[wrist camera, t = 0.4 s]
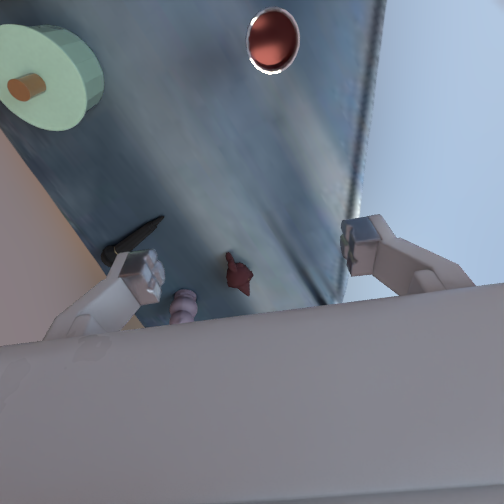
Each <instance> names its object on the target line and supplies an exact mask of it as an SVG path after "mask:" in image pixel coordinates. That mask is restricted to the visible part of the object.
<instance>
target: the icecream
mask: <svg viewBox="0 0 504 504" xmlns="http://www.w3.org/2000/svg"><path fill="white" fill-rule="evenodd" d="M226 260H227V261H228V267H229V268H228V270H227V276H226V278H227V281H228V282H227V283H228V287H232V288H238V289H239V290H240V291H242V292H243V293H244V294H246V295H247V296H250V289H249V281H250V280H251V278H252V277H253V273H252V271H250V270H249V269H248V268H247V267H246V265H243V263H235V262H234V259H233V257H232V255H231V254H230V253H229V252H227V253H226Z"/></svg>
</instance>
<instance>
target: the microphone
mask: <svg viewBox="0 0 504 504" xmlns="http://www.w3.org/2000/svg"><path fill="white" fill-rule="evenodd" d="M163 218H164V216H161V217H159V218H158V219H156V220H155V221H150V222H148V223H147V224H145V225H144V226H143V227H141V228H140V229H138V230H137V231H135V232H134V233H133V234H131V235H130V236H128V237H127V238H126V239H124V240H123V241H121V242H120V243H119V244H117V245H116V246H107V247H106V248H105V249H103V252H102V254H101V260H102V262H103V263H104V264H105V265H107V266H108V267H112V265H113V263H114V261H115V259H116V257H117V255H118V254H119V253H123V252H130V251H131V250H133V249H134V248H135V247H136V246H137V245H138V244H139V243H140V242H142V241H143V240H144V239H145V238H146V237H147V236H148V235H149V234H150V233H152V232H153V231H154V230H155V229H156V228H157V225H158V224H159V223H160V222H161V221H162V220H163Z"/></svg>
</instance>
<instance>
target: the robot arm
mask: <svg viewBox="0 0 504 504" xmlns="http://www.w3.org/2000/svg"><path fill="white" fill-rule="evenodd" d="M341 230H342V232H343V234H342V235H341V236H340V246H341V251H342V255H343V257H344V258H345V259H347V267H348V269H349V272H350V274H351V276H362V275H371V274H373V276H374V277H376V278H377V279H378V280H379V281H381V282H382V283H383V284H385V285H386V286H387V287H389V288H390V289H391V290H392V291H394V292H395V293H396V294H398V295H399V296H394V297H387V298H379V299H371V300H363V301H355V302H347V303H340V304H332V305H324V306H316V307H307V308H299V309H291V310H283V311H275V312H267V313H259V314H251V315H244V316H236V317H228V318H220V319H212V320H204V321H196V322H188V323H180V324H172V325H165V326H157V327H149V328H141V329H133V330H126V331H120V330H121V329H122V328H123V327H124V325H125V324H126V323H127V322H128V321H129V319H130V318H131V317H132V316H133V315H134V313H135V312H136V311H137V310H138V309H139V307H140V305H145V304H151V303H157V302H159V300H160V296H161V292H162V289H161V288H160V286H161V285H162V284H163V283H164V281H165V269H164V266H163V264H162V262H160V261H158V260H157V256H158V255H157V253H156V251H155V250H154V249H146V250H138V251H131V252H123V253H119V254H118V255H117V257H116V259H115V261H114V263H113V265H112V267H111V269H110V271H109V273H108V275H107V277H106V280H102V281H100V282H99V283H98V284H97V285H95V286H94V287H93V288H92V289H90V290H89V291H88V292H87V293H86V294H84V295H83V296H82V297H81V298H79V299H78V300H77V301H76V302H74V303H73V304H72V305H71V306H69V307H68V308H67V309H66V310H65V311H63V312H62V313H61V314H59V315H58V316H57V317H56V318H55V319H54V321H53V323H52V325H51V326H50V328H49V330H48V331H47V333H46V335H45V337H44V338H43V340H42V341H37V342H29V343H21V344H14V345H6V346H0V504H504V283H498V284H490V285H482V286H476V285H475V284H474V283H473V282H472V280H471V279H470V278H469V277H468V276H467V274H466V273H465V272H464V271H463V270H462V268H461V267H460V266H459V265H458V264H456V263H454V262H452V261H449V260H447V259H445V258H443V257H441V256H439V255H436V254H434V253H432V252H430V251H428V250H426V249H423V248H421V247H419V246H417V245H415V244H413V243H411V242H408V241H406V240H404V239H402V238H396V236H395V235H394V233H393V232H392V230H391V229H390V227H389V226H388V224H387V223H386V221H385V220H384V219H383V217H382V216H381V215H380V214H378V215H371V216H367V217H361V218H355V219H348V220H342V223H341Z"/></svg>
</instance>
